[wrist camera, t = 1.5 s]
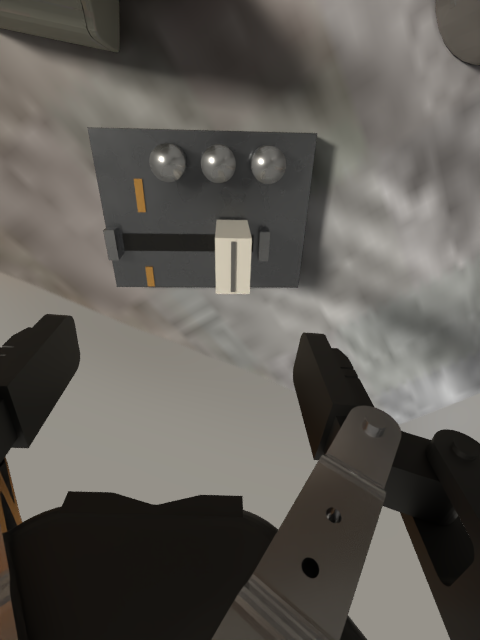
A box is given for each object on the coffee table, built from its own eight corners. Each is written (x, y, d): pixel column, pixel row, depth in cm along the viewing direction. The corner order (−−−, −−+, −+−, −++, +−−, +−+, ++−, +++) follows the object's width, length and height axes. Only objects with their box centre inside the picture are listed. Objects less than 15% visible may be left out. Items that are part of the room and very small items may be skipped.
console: (310, 133, 25) (323, 133, 22) (293, 278, 31) (301, 295, 28) (97, 127, 24) (78, 127, 21) (123, 277, 30) (111, 294, 27)
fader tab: (247, 220, 25) (252, 238, 21) (245, 268, 27) (249, 294, 23) (216, 219, 25) (214, 238, 21) (217, 267, 27) (215, 294, 23)
